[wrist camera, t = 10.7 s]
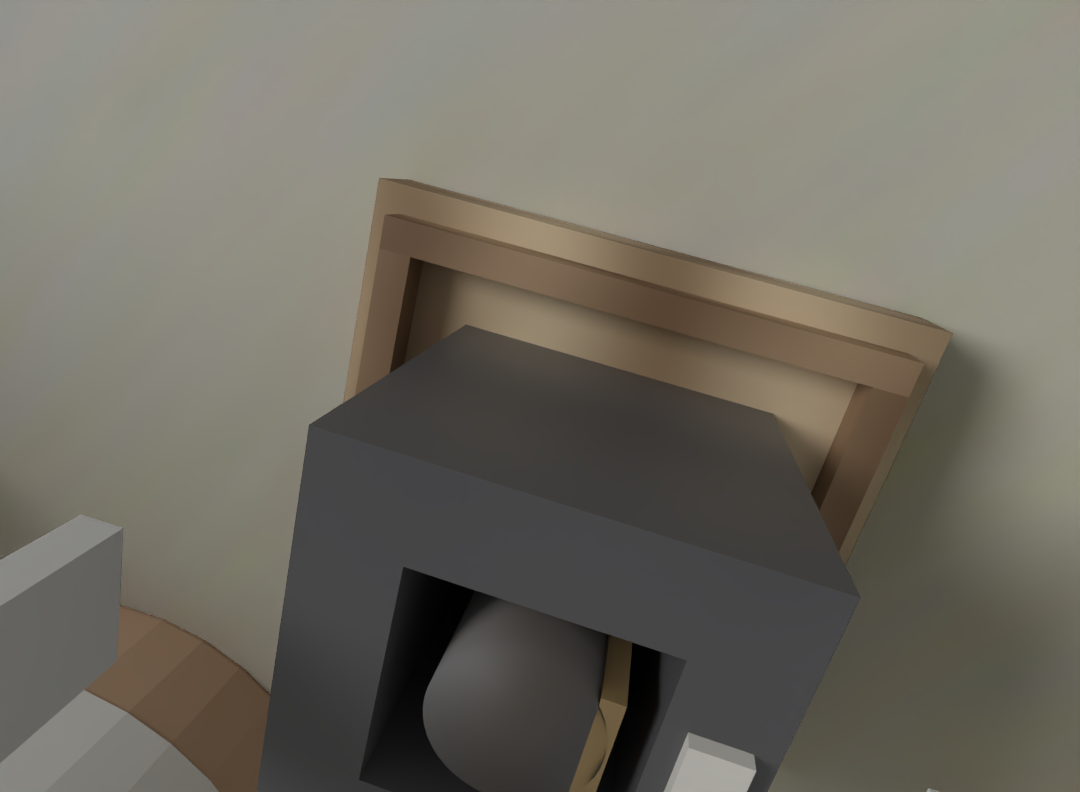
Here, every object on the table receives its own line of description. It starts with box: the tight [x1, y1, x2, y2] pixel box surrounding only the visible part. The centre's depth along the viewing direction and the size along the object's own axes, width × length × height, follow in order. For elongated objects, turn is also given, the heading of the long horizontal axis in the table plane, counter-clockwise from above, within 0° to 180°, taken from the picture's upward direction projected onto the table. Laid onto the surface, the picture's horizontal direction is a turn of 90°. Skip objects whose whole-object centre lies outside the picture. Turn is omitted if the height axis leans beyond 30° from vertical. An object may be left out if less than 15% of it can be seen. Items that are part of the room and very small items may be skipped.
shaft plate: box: [343, 178, 953, 792], centre depth 15 cm, size 14×14×10 cm
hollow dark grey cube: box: [257, 325, 860, 792], centre depth 14 cm, size 8×8×8 cm
